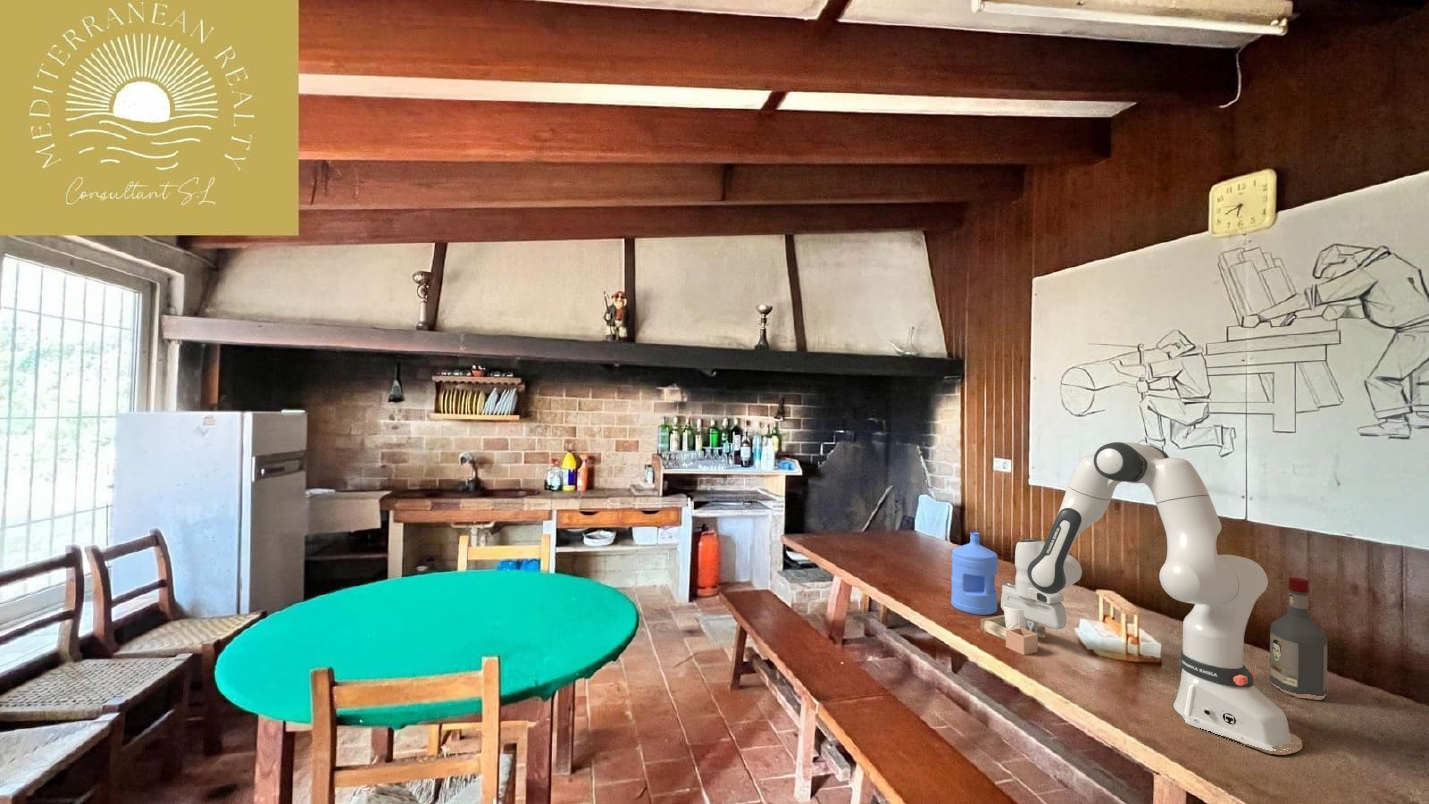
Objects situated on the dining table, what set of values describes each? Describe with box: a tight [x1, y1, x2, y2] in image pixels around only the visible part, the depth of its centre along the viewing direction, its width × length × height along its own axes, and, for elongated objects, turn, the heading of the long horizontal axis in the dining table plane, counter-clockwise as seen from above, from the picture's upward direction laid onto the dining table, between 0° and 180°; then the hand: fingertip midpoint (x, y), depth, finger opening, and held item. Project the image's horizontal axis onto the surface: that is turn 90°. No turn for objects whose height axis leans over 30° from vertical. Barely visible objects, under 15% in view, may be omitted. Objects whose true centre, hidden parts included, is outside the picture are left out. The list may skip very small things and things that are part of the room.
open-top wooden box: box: [1005, 627, 1039, 656], centre depth 171 cm, size 6×6×6 cm
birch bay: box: [980, 614, 1046, 641], centre depth 184 cm, size 13×14×4 cm
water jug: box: [950, 531, 999, 616], centre depth 209 cm, size 16×16×28 cm
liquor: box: [1269, 576, 1328, 696], centre depth 149 cm, size 9×9×30 cm
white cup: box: [1003, 604, 1029, 630], centre depth 182 cm, size 8×8×10 cm
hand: (1032, 633), depth 177 cm, fingers closed, pressing on white cup
